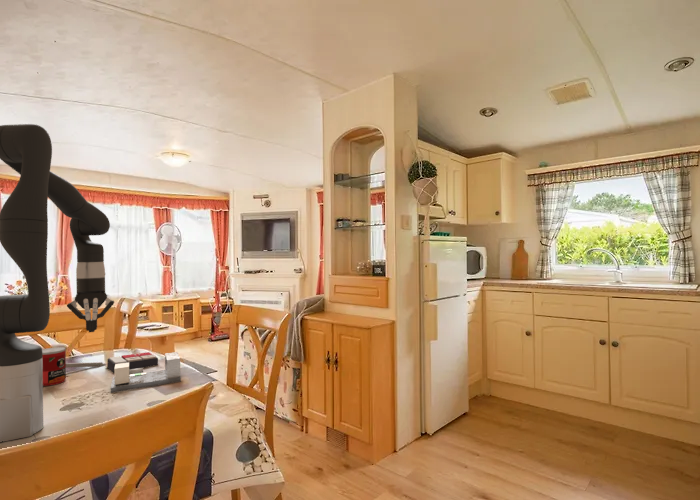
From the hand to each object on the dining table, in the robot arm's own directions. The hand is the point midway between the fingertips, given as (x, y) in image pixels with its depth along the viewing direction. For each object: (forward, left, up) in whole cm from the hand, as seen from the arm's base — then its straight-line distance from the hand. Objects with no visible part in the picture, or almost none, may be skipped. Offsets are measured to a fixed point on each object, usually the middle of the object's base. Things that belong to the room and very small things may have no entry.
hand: (91, 331), depth 123 cm
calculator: (+25, -11, -19) cm, 34 cm away
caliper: (+30, +8, -19) cm, 36 cm away
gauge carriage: (+2, -10, -17) cm, 20 cm away
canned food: (+18, +13, -19) cm, 29 cm away
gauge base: (+1, -15, -19) cm, 24 cm away
